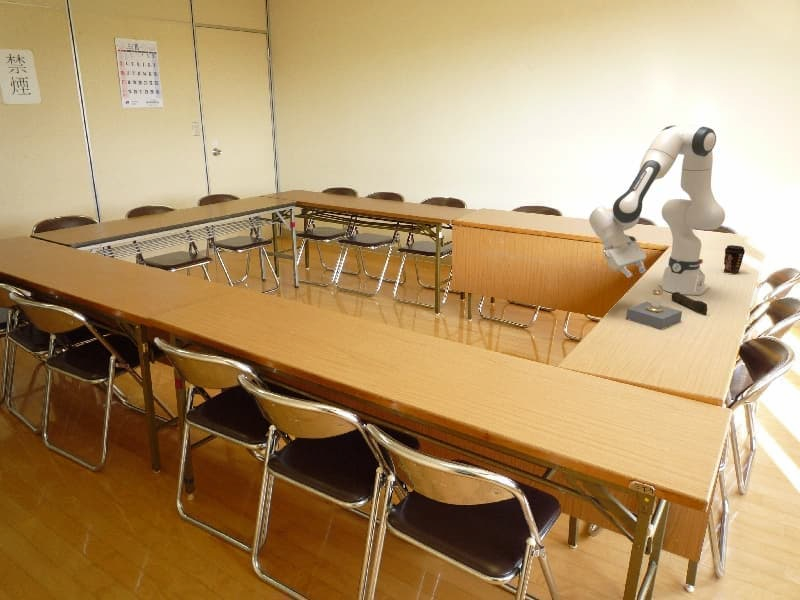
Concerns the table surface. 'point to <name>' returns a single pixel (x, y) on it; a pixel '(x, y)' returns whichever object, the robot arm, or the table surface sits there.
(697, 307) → the hand tool
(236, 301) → the table surface
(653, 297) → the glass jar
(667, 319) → the block
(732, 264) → the coffee cup
